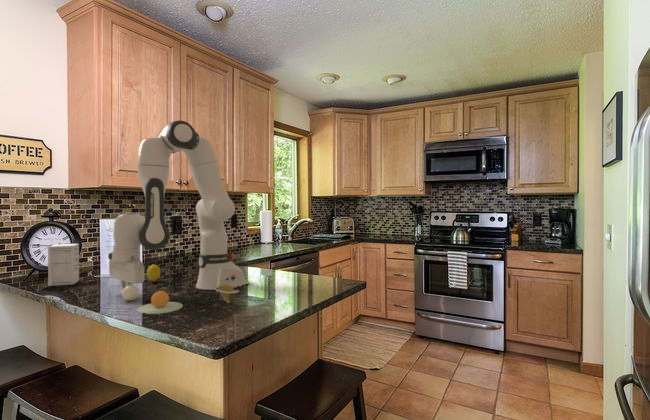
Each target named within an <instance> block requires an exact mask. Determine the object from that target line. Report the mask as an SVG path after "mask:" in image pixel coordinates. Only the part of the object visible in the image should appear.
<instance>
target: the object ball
mask: <svg viewBox="0 0 650 420" xmlns="http://www.w3.org/2000/svg"><path fill="white" fill-rule="evenodd" d="M150 298H151V299H150V302H151V303H152V304H153V306H155V307H158V308H159V307H164V306H165V305H166V304H167V303H168V302H170V296H169V293H167V292H166V291H164V290H157V291H156V292H154V293H153V295H151V297H150Z"/></svg>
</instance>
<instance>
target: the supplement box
mask: <svg viewBox="0 0 650 420" xmlns="http://www.w3.org/2000/svg"><path fill="white" fill-rule="evenodd" d="M47 254H48V255H47V256H48V258H47V270H48V275H47V278H48V279H47V285H48V287H52V286H54V287H55V286H69V285H75V284H76V283H77V282H79V281H80V244H79V243H58V244H52V245H48V246H47Z"/></svg>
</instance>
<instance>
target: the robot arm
mask: <svg viewBox="0 0 650 420" xmlns="http://www.w3.org/2000/svg"><path fill="white" fill-rule="evenodd" d="M213 148H214V147H213V146H212V143H211V141H210V140H209V139H208V138H206V137H201V136H200V135H199V133H198V132H197V131H196V129H195V128H194V127H193V126H192V125H191V124H190V123H189V122H187V121H185V120H173V121H172V122H170V123H168V124H167V125H165V126H164V127H163V129H161V130H160V131H159V133H158V134H157V136H156V137H148V138H145V139H143V140H142V141H141V143H140V146H139V149H138V154H137V155H138V156H137V175H138V176H137V177H138V181H139V184H140V187H141V189H142V192H143V194H144V199H145V200H144V204H145V205H144V206H145V208H144V209H145V210H144V212H145V215H144V216H143V215H141V214H140V213H138V212H136V211H135V212H133V211H132V212H127V213H121V214H119V215H117V216H116V217H115V219H114V222H113V223H114V224H113V239H114V244H113V248H112V249H113V250H112V251H111V252H110V253H109V252H108V254H107V258H108V272H109V276H110V278H113V279H115V280H118V281H120V285H121V288H122V290H121V292H122V291H123V289H124V288H125V287H126V286H129V285H137V284H143V283H144V281H145V266H144V263H143V262H142V261H141V245H142V247H143V248H146V249H147V250H149V251H157V250H161V249H163V248H164V247H166V246H167V244H168V243H169V241H170V238H171V233H170V230H169V228H168V226H167V224H166V221H165V194H166V191H167V190H166V189H167V186H168V182H169V176H170V175H169V174H170V158H171V154H174V153H179V152H183V153H184V154H185V155H186V157H187V159H188V164H189V166H190V171H191V176H192V180H193V184H194V186H195V188H196V189H197V191H198V193H199V196H200V198H201V199H199V200H198V201H197V203H196V205H195V212H196V214H197V221H198V228H199V234H200V246H199V247H200V253H199V255H198V256H199V257H198V268H199V271H198V277H197V282H196V285H195V288H196V289H199V290H209V291H210V290H215V291H216V288H217V287H219V285H222V284H225V285H231V286H234V288H239V287H243V286H242V285H244V286H246V285H245V284H248V285H250V281H249V280H248V279H245V275H244V270H243V269H242V268H241V267H239V266H238V265H236V264H235V263H234V262H232V260H235V258H236V255H235V254H234V253H228V233H227V231H226V228H225V227H226V226H225V223H224V222H225V221H228V220H230V219H231V218H232V217H233V216H234V213H235V211H236V208H235V207H236V206H235V204H234V202H233V200H232V199H231V198H230V196H229V194H228V192H227V189H226V188H225V185H224V183H223V180H222V177H221V172H220V169H219V165H218V161H217V157H216V154H215V151H214V149H213ZM231 259H232V260H231ZM238 286H239V287H238Z"/></svg>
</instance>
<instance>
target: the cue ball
mask: <svg viewBox="0 0 650 420" xmlns="http://www.w3.org/2000/svg"><path fill="white" fill-rule="evenodd" d="M139 295H140V290H139V287H137V286H136V285H135V284H132V285H129V286H126V287H125V288H124V289H123V291H122V290H121V297H122V299H124V300H126V301H127V302H128V301H129V302H130V301H134V300H136V299H137V298H138V296H139Z"/></svg>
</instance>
